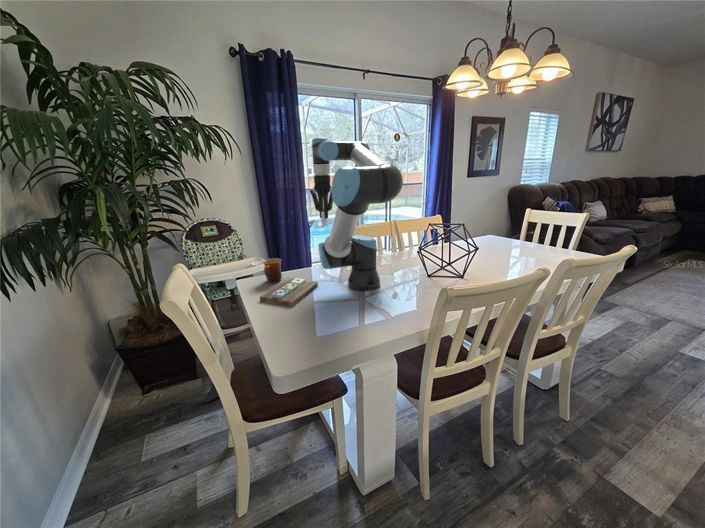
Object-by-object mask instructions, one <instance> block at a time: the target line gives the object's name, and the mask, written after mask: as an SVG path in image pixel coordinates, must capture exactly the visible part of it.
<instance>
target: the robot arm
mask: <svg viewBox="0 0 705 528" xmlns="http://www.w3.org/2000/svg"><path fill="white" fill-rule="evenodd" d="M311 149H312V152H311V153H312V166H313V167H312V169H313V175H314V176H313V181H314V187H313V188H312V189H309V193H310V195H311V196H312V200H313V205H314V208H315V211H317V212H319V219H321V226H322V227H324V226H327V225H328V219H329V212H330V211H331V210H333V204H334V205H336V212H335V215H334V220H333V223H332V226H331V230H330V234H329V235H328V236H327V237H326V238H325V240H324V242H320V243H318V247H317V248H318V249H317V250H318V255H319V260H320V263H321V264H320V265H321V266H322V268H323V269H324V270H329V269H330V270H332V269H338V268H346V267H351V270H350V273H349V276H348V278H347V286H348V287H349V288H351V289H353V290H356V291H372V290H375V289H377V288H380V286H381V280H380V276H379V273H378V270H377V253H378V252H377V251H378V247H377V240H376V239H375V238H374V237H371V236H368V235H360V234H359V235H358V234H357V235H356V234H355V235H354V233H355V230H356V228H357V225H358V224H359V223H358V222H359V220H360V217H361V215H364V214H365V213H366V212H367V211H368V209H369V207H370V205H373V204H374V205H375V204H377V205H378V204H385V203H389V202H390V201H393V200H395V198H397V196H398V195H399V194H400V193H401V190H402V189H403V185H404V179H403V175H402V173H401V171H400V169H399V168H398V167H397V166H396V165H394V164H393V163H391V162H385V161H384V160H382V159H381V158H380V157H378V156H377V155H376V154H374V153H373V152H372V151H370V146H369V144H368V143H367V142H366V141H361V140H358V141H340V140H339V141H336V140H334V141H332V140H329V139H328V138H327V137H326V138H325V137H316V138H312V140H311ZM330 161H352V163H354V164H355V165H356V167H355V166H354V165H353V166H347V167H346V166H344V167H341V168H338V169H337V170H336V171H335V173H334V174H333V177H332V180H331V176H330V174H331V171H330V170H331V168H330V166H331V165H330Z"/></svg>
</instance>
